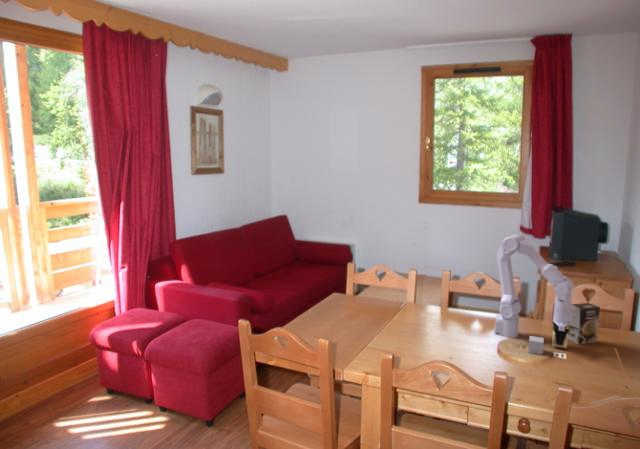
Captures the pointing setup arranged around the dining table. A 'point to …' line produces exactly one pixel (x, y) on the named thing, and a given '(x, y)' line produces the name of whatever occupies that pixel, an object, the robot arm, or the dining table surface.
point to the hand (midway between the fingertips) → (559, 341)
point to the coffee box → (583, 323)
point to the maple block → (556, 343)
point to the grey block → (536, 345)
